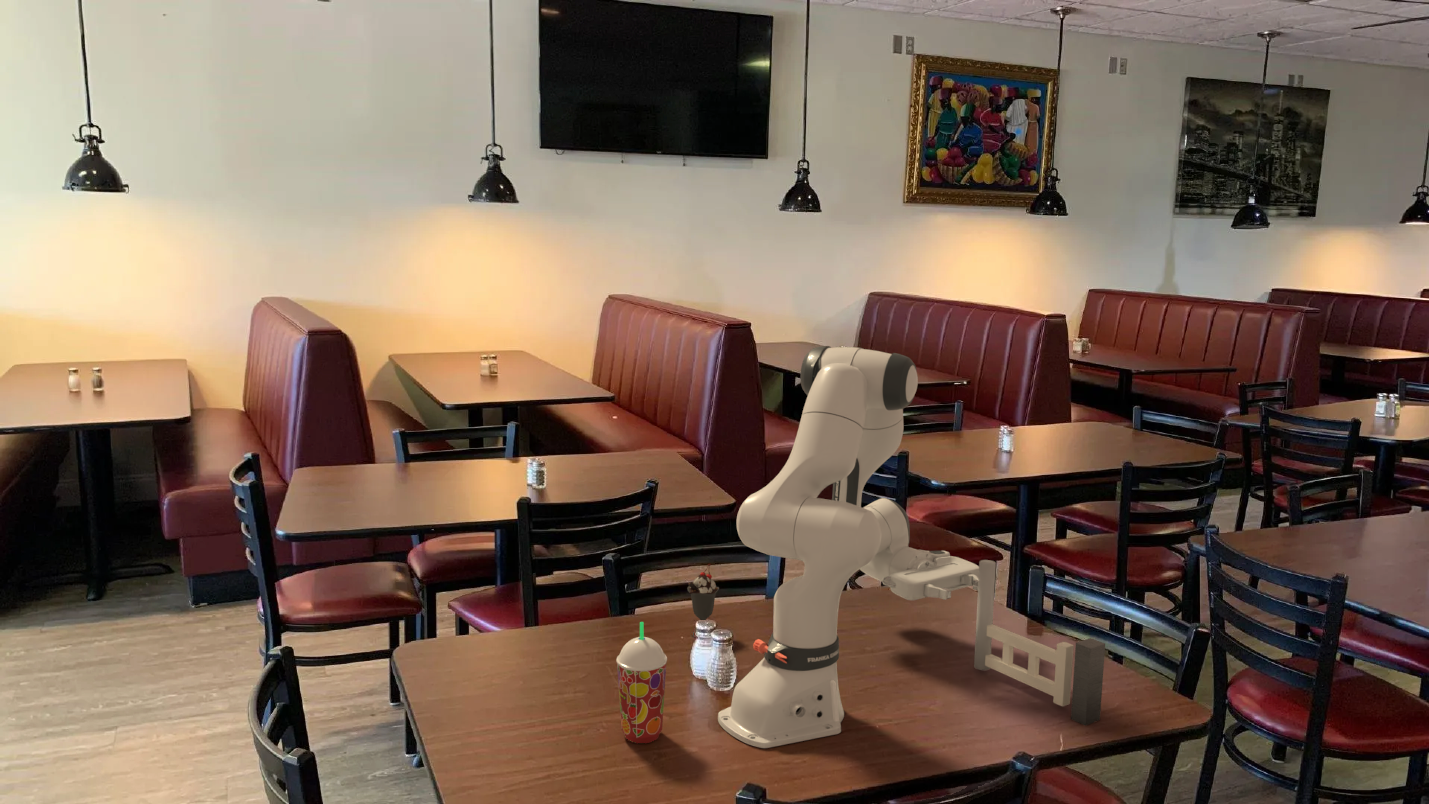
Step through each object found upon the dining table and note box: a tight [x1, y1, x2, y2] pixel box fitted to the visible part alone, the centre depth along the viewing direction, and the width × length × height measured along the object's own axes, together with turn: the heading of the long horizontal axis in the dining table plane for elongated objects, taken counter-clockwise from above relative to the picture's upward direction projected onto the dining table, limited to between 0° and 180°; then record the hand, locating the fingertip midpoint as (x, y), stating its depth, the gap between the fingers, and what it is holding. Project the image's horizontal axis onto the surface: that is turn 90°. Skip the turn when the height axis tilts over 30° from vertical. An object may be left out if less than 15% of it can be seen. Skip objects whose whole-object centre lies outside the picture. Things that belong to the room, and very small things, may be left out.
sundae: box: [686, 563, 720, 638], centre depth 218 cm, size 7×7×15 cm
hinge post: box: [1070, 637, 1106, 727], centre depth 181 cm, size 4×3×14 cm
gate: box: [973, 559, 1075, 707], centre depth 192 cm, size 21×3×21 cm, turn 34°
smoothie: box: [615, 621, 668, 744], centre depth 173 cm, size 8×8×20 cm
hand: (965, 590), depth 203 cm, fingers open, 8 cm apart
